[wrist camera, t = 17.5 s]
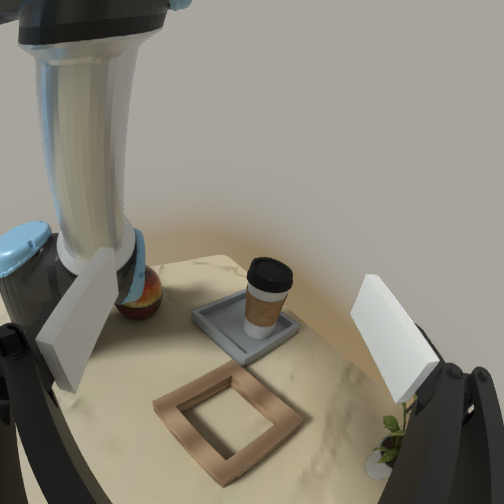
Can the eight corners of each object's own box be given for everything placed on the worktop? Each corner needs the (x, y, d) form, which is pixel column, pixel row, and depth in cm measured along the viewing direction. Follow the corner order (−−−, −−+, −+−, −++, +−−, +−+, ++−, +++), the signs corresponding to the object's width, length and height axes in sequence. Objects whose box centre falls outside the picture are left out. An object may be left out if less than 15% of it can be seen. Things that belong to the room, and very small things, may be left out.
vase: (169, 298, 62) (170, 237, 55) (153, 330, 52) (149, 263, 45) (126, 289, 62) (122, 229, 55) (105, 317, 52) (95, 252, 45)
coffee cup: (254, 311, 62) (266, 251, 55) (285, 330, 57) (303, 269, 51) (229, 328, 55) (239, 264, 49) (262, 350, 51) (279, 286, 45)
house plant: (312, 466, 31) (362, 414, 23) (363, 417, 39) (410, 355, 32) (377, 517, 22) (453, 479, 14) (419, 458, 30) (481, 404, 23)
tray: (191, 319, 57) (191, 310, 56) (246, 296, 68) (247, 287, 67) (243, 368, 47) (245, 359, 46) (297, 333, 58) (299, 324, 57)
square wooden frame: (154, 411, 36) (152, 401, 34) (231, 369, 47) (233, 359, 45) (222, 488, 26) (224, 483, 25) (299, 427, 37) (304, 418, 36)
